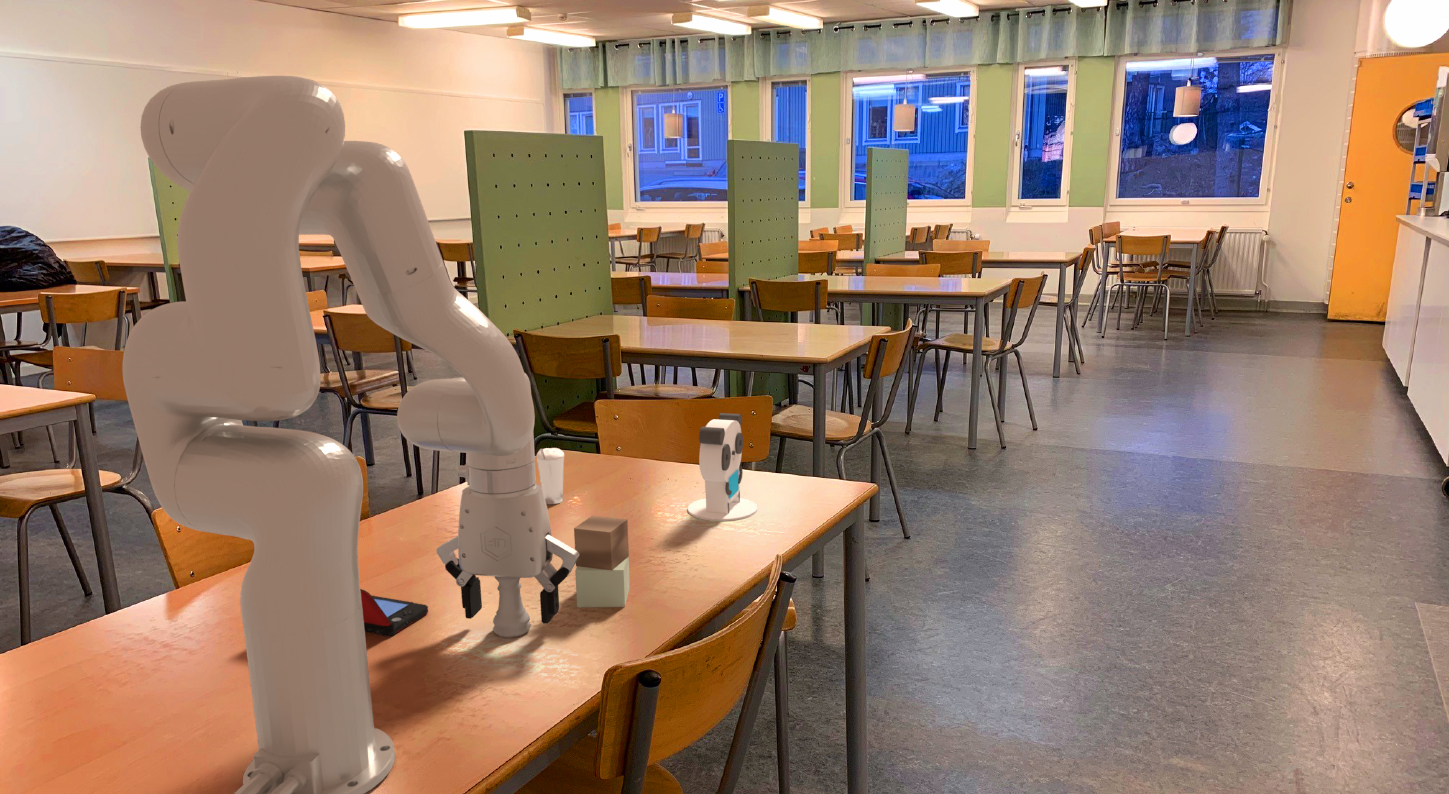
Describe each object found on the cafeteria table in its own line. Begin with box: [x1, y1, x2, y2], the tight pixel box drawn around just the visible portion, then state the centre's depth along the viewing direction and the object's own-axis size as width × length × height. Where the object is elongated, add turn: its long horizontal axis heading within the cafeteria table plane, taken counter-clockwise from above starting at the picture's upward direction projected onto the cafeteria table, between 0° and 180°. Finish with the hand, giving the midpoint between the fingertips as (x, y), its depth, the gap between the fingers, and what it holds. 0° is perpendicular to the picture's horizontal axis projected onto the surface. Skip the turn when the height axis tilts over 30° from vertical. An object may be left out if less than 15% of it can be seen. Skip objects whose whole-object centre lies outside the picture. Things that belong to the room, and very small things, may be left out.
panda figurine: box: [687, 412, 759, 522], centre depth 156 cm, size 12×11×15 cm
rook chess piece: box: [492, 576, 532, 639], centre depth 114 cm, size 4×4×8 cm
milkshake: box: [535, 447, 565, 505], centre depth 162 cm, size 4×5×10 cm
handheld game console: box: [360, 588, 429, 637], centre depth 117 cm, size 12×11×7 cm
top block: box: [573, 515, 630, 571], centre depth 123 cm, size 5×5×5 cm
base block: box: [574, 557, 631, 608], centre depth 124 cm, size 6×6×5 cm
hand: (511, 616), depth 115 cm, fingers open, 9 cm apart
